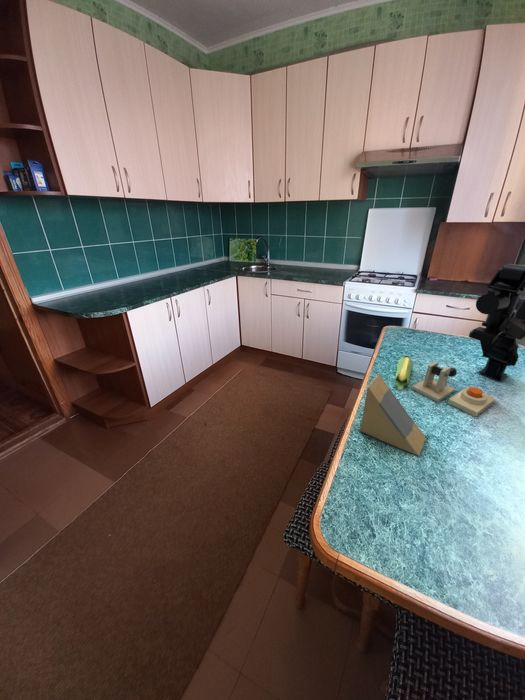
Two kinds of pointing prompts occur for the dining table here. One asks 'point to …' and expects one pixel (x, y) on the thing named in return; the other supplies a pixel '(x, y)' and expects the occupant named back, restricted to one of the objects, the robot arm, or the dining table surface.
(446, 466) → the dining table surface
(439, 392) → the lever stand
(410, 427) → the sandwich container
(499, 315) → the robot arm
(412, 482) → the dining table surface
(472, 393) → the button
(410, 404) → the dining table surface
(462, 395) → the control block
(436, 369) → the black lever handle
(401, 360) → the edible corn
